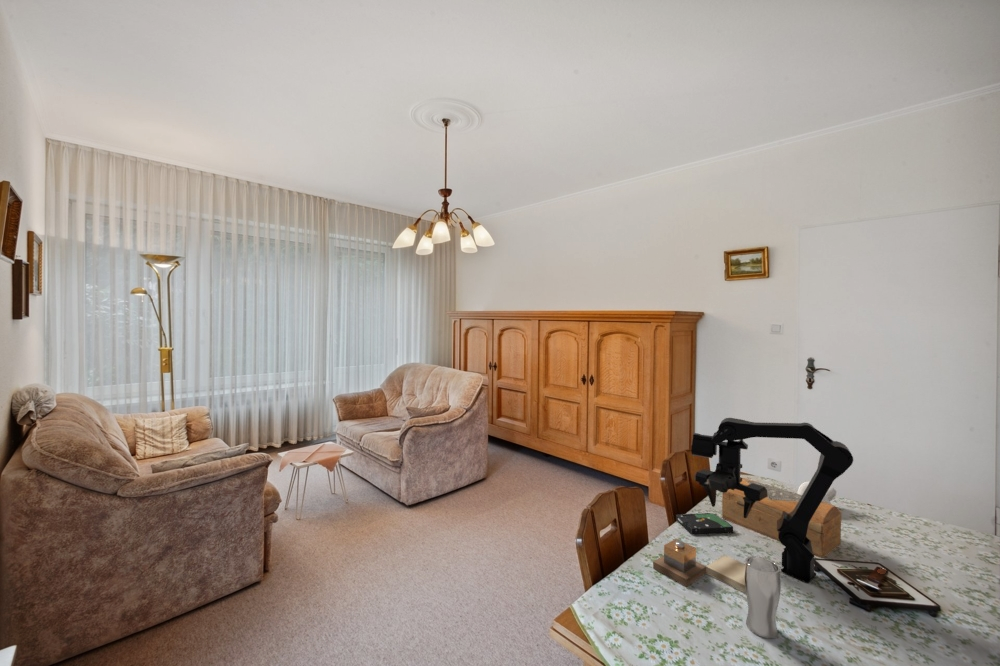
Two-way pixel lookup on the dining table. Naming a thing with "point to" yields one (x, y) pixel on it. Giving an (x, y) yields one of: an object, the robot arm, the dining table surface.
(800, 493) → the white knot sculpture
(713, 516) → the disk drive
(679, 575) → the stand
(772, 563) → the beer glass
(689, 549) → the block
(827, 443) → the robot arm
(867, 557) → the dining table surface
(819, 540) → the wooden box
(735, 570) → the stand
